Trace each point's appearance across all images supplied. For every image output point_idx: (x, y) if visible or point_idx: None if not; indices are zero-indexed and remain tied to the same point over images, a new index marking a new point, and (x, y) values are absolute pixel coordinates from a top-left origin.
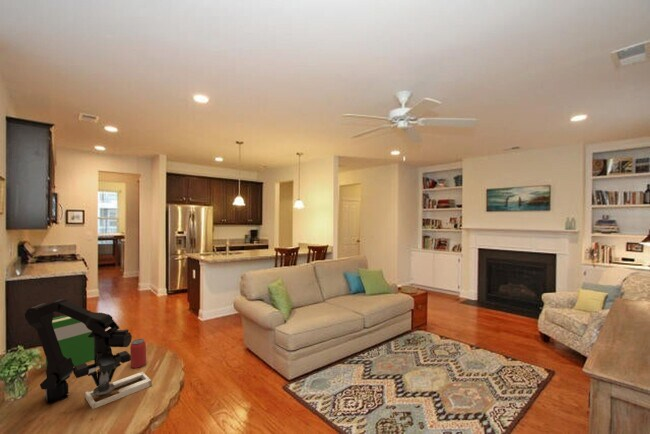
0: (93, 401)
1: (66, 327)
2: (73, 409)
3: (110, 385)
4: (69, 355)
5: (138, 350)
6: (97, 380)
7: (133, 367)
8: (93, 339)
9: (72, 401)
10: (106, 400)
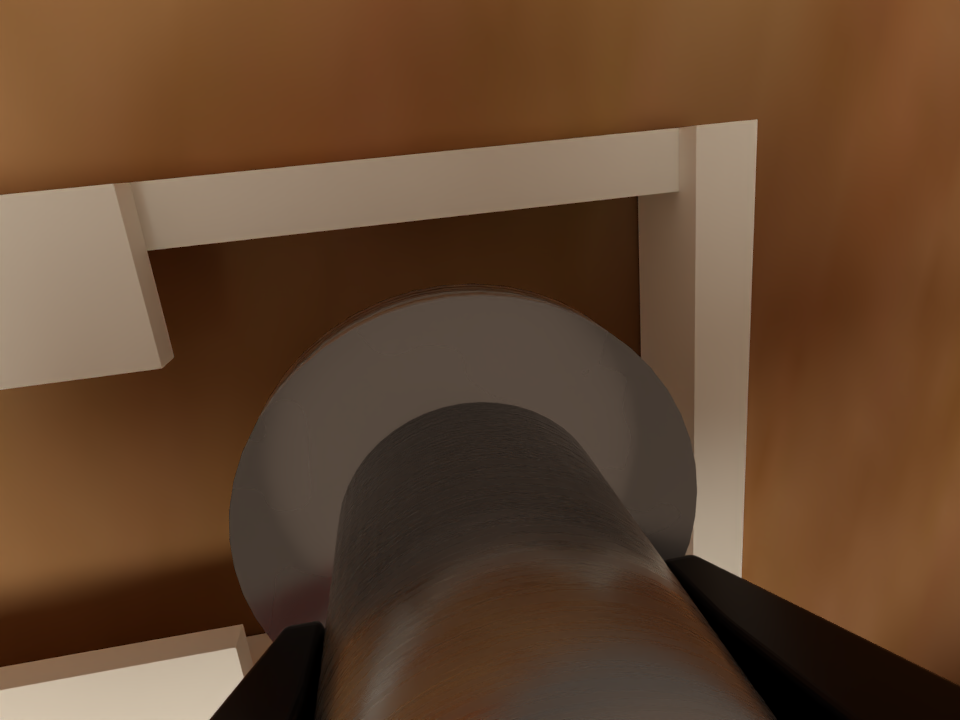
0: (718, 187)
1: None
2: (891, 358)
3: (312, 576)
4: None
5: None
6: (839, 695)
7: None
8: None
9: (836, 601)
10: (448, 153)
